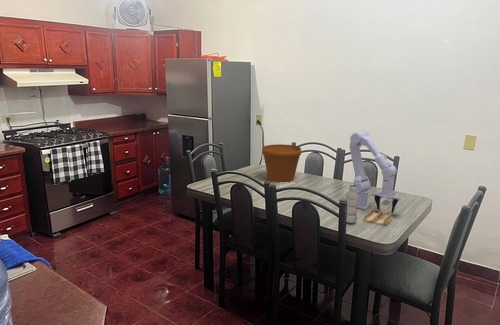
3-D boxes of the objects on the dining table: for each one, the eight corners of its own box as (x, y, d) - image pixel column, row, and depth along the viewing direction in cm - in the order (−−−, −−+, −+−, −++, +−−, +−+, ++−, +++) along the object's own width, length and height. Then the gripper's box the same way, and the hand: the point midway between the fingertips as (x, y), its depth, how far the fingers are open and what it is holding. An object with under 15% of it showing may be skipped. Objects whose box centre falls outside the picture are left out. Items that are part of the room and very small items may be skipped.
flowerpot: (292, 187, 249) (293, 153, 243) (255, 181, 260) (256, 149, 255) (304, 177, 273) (306, 146, 267) (270, 172, 285) (271, 143, 279)
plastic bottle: (354, 219, 193) (357, 184, 188) (358, 224, 187) (361, 188, 182) (342, 219, 193) (344, 184, 188) (346, 225, 186) (348, 188, 182)
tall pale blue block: (380, 215, 200) (381, 203, 198) (383, 211, 206) (384, 199, 204) (386, 216, 198) (387, 204, 197) (389, 212, 204) (390, 200, 202)
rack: (362, 221, 192) (363, 215, 191) (370, 213, 202) (370, 208, 201) (386, 226, 185) (386, 220, 184) (392, 218, 196) (392, 213, 195)
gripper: (372, 186, 199) (370, 209, 202) (399, 191, 191) (397, 215, 194) (375, 183, 205) (373, 206, 208) (402, 188, 197) (400, 211, 200)
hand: (385, 210), depth 201 cm, fingers open, 7 cm apart
